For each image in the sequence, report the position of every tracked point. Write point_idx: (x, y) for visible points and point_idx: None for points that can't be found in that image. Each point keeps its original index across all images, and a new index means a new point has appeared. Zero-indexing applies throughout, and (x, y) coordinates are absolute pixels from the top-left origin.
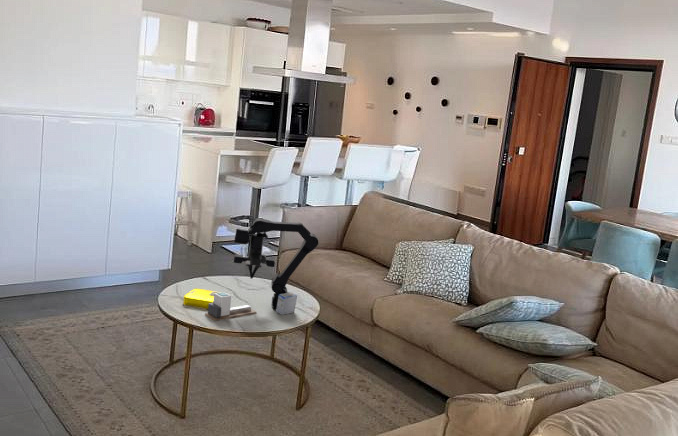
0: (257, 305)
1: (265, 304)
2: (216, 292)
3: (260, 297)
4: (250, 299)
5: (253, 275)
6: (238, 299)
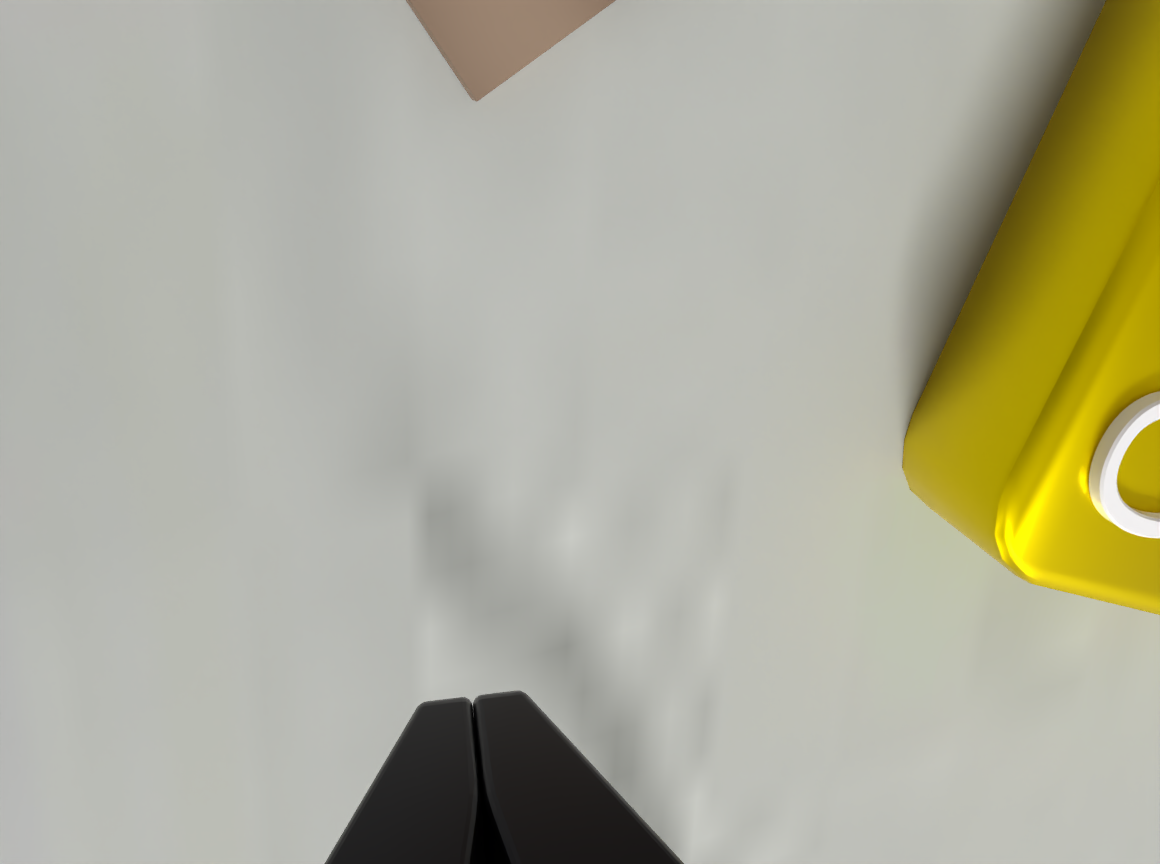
0: (195, 361)
1: (3, 474)
2: (1142, 511)
3: (172, 852)
4: (372, 690)
5: (372, 829)
6: (607, 625)
